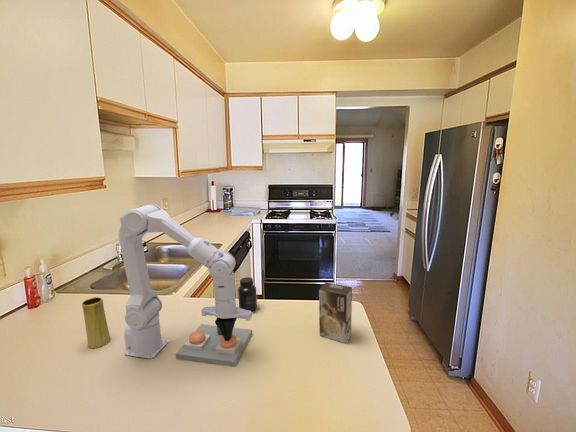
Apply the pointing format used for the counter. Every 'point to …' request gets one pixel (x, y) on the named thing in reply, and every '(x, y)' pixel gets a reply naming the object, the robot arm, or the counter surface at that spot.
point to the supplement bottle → (247, 294)
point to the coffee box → (335, 311)
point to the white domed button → (219, 331)
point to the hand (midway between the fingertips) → (228, 338)
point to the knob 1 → (197, 337)
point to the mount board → (215, 347)
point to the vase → (95, 322)
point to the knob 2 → (228, 342)
